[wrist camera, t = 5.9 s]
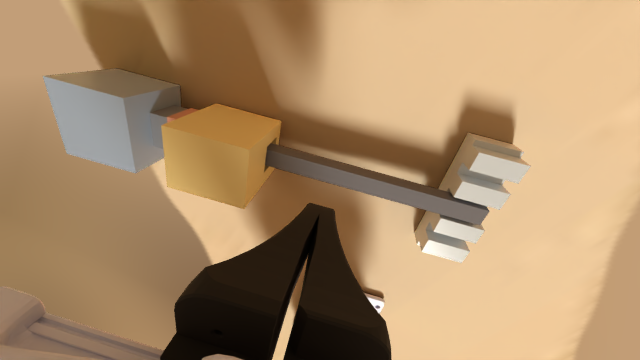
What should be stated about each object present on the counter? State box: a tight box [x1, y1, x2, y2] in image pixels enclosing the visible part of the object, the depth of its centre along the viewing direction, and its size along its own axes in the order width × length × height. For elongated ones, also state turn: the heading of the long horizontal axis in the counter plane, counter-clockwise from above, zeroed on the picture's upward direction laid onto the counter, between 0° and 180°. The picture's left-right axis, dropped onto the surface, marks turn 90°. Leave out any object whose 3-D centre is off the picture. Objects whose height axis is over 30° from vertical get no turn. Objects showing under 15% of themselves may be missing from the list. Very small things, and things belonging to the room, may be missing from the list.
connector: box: [43, 68, 187, 173], centre depth 18 cm, size 5×7×5 cm
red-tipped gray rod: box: [167, 108, 489, 225], centre depth 18 cm, size 23×3×3 cm, turn 78°
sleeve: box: [161, 103, 282, 209], centre depth 17 cm, size 4×5×6 cm
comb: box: [415, 133, 531, 263], centre depth 18 cm, size 9×3×3 cm, turn 168°
